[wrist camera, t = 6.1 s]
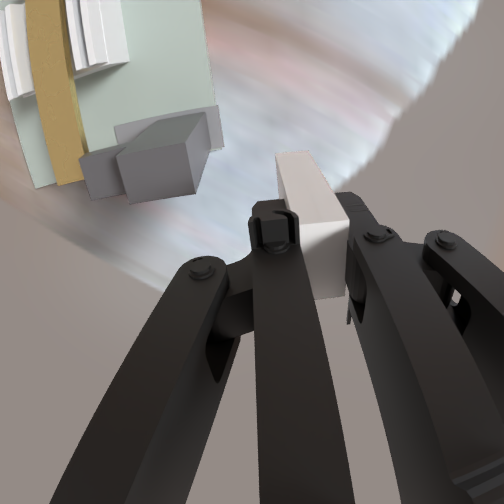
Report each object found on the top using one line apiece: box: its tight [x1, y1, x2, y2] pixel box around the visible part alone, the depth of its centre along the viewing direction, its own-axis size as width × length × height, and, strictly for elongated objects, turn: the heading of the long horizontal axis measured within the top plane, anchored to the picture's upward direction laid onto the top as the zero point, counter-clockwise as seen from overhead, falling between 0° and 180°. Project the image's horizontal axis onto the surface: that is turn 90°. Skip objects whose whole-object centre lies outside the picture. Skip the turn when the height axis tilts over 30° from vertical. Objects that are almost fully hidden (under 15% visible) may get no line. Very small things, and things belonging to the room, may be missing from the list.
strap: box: [25, 0, 89, 186], centre depth 16 cm, size 19×4×1 cm, turn 7°
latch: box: [78, 111, 212, 204], centre depth 21 cm, size 3×8×10 cm, turn 97°
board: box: [0, 0, 225, 188], centre depth 18 cm, size 22×20×8 cm
